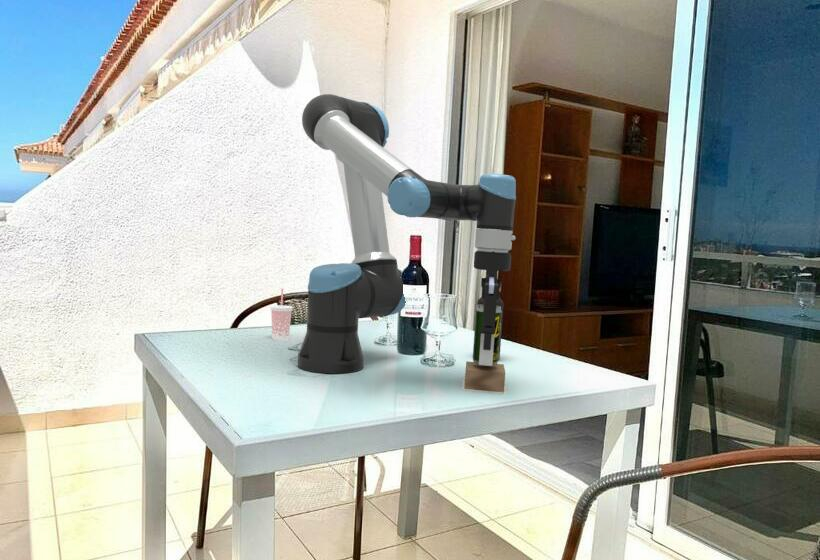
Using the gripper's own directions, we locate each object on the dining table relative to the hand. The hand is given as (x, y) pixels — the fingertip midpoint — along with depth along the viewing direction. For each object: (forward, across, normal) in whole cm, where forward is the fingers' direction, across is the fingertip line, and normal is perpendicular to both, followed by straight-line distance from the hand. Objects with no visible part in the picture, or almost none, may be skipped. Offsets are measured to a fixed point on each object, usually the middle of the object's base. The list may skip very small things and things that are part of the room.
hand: (485, 361), depth 126 cm
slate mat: (+6, 0, +3) cm, 7 cm away
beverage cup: (+6, +36, +56) cm, 67 cm away
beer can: (0, 0, 0) cm, 0 cm away
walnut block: (+5, 0, 0) cm, 5 cm away
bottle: (+6, +31, -1) cm, 32 cm away
